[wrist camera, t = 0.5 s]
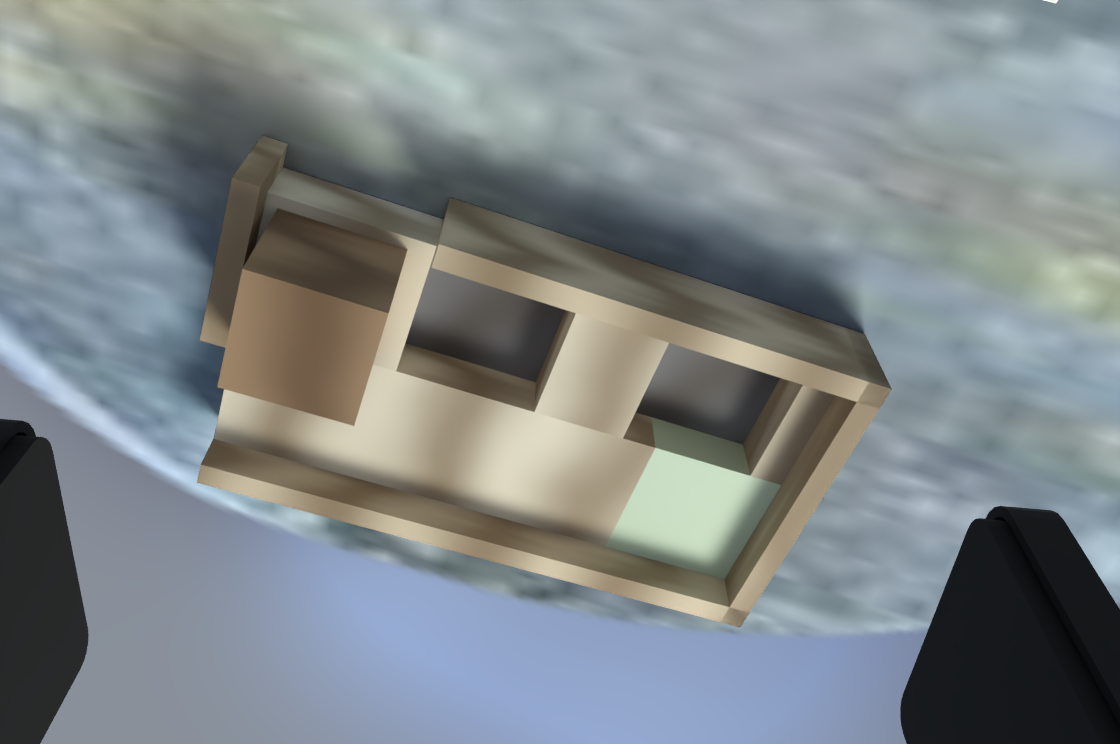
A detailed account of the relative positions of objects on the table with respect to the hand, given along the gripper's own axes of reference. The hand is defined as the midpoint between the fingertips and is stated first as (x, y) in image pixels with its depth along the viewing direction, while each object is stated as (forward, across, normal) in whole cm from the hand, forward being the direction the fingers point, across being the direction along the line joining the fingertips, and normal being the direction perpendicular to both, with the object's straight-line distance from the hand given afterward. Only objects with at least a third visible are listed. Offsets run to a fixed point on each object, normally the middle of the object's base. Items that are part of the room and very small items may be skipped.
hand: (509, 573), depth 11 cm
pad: (+31, -8, +22) cm, 38 cm away
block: (+28, +8, +11) cm, 31 cm away
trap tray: (+31, 0, +16) cm, 35 cm away
